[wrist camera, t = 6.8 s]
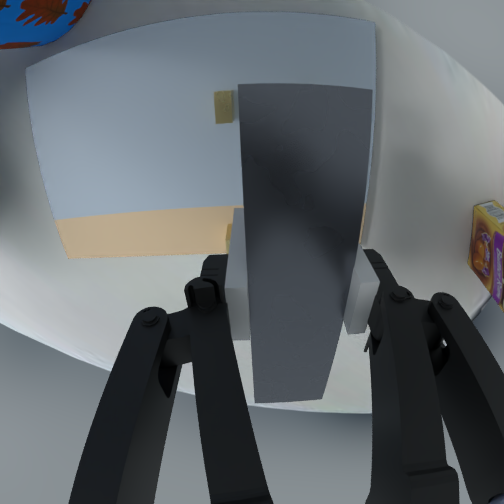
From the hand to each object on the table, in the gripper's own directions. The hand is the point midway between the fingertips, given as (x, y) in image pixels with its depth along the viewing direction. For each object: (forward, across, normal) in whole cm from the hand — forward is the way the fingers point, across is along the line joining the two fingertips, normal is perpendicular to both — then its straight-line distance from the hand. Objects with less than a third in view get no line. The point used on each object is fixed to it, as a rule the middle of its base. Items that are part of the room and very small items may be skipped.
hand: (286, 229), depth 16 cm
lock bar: (0, 0, 0) cm, 1 cm away
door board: (+11, -7, +3) cm, 14 cm away
